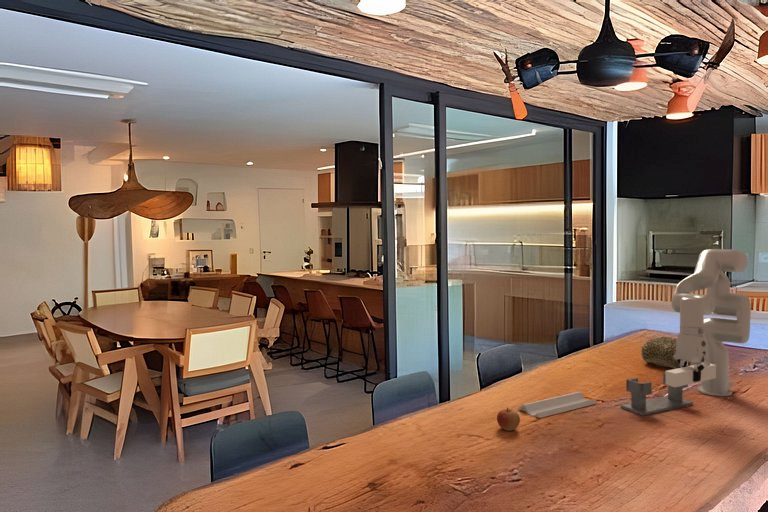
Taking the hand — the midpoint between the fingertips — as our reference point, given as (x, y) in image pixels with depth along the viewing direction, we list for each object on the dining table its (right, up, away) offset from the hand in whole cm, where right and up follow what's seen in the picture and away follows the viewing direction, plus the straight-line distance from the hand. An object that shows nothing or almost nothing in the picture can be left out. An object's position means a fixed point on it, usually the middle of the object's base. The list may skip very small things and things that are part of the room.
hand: (690, 379), depth 204 cm
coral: (+29, -10, +75) cm, 81 cm away
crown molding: (-45, -15, +14) cm, 50 cm away
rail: (0, -1, 0) cm, 1 cm away
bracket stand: (-6, -14, +13) cm, 20 cm away
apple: (-69, -16, -9) cm, 72 cm away
